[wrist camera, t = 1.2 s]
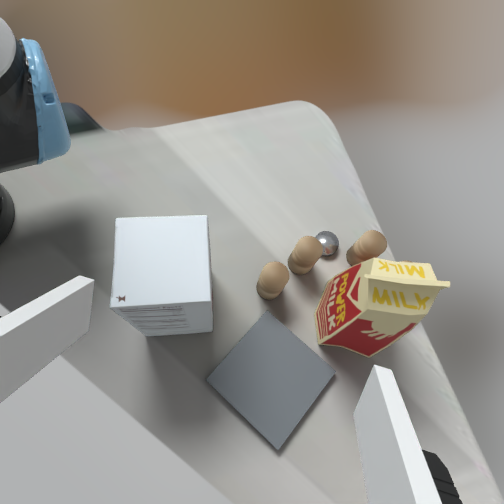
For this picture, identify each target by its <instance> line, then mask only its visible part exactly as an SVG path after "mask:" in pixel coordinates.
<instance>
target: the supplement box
mask: <svg viewBox="0 0 504 504" xmlns="http://www.w3.org/2000/svg"><path fill="white" fill-rule="evenodd" d="M110 308H111V309H112V310H113V311H115V312H116V313H117V314H118V315H120V316H121V317H122V318H123V319H125V320H126V321H127V322H129V323H130V324H131V325H132V326H134V327H135V328H136V329H137V330H139V331H140V332H141V333H142V334H144V335H145V336H162V335H177V334H191V333H203V332H212V331H213V295H212V272H211V253H210V239H209V226H208V216H207V215H190V216H163V217H132V218H116V219H115V248H114V267H113V279H112V291H111V300H110Z"/></svg>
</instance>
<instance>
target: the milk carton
mask: <svg viewBox="0 0 504 504" xmlns="http://www.w3.org/2000/svg"><path fill="white" fill-rule="evenodd" d="M447 287H450V281H437V279H436V277H435V275H434V272H433V270H432V267H431V265H430V264H429V263H410V262H394V261H389V260H384V259H379V258H375V257H374V258H371V259H369V260H366V261H364V262H361V263H359V264H357V265H354V266H352V267H350V268H348V269H346V270H344V271H343V272H341V273H339V274H337V275H336V276H334V277H333V278H332V279H330V280H329V281H328V282H327V285H326V287H325V289H324V292H323V294H322V297H321V299H320V301H319V304H318V306H317V309H316V311H315V314H314V318H315V325H316V332H317V339H318V345H329V346H339V347H343V348H345V349H348V350H350V351H353V352H355V353H358V354H360V355H363V356H365V357H368V358H370V357H372V356H373V355H375V354H377V353H379V352H380V351H382V350H384V349H385V348H387V347H389V346H390V345H392V344H393V343H394V342H396V341H397V340H399V339H400V338H401V337H403V336H404V335H406V334H407V333H408V332H410V331H411V330H412V329H413V328H414V327H415V326H416V325H417V324H418V323H419V322H420V321H421V320H422V319H423V318H424V316H426V315H427V313H428V311H429V309H430V308H431V306H432V304H433V302H434V300H435V298H436V296H437V294H438V293H439V291H440V290H441V289H444V288H447Z"/></svg>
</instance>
